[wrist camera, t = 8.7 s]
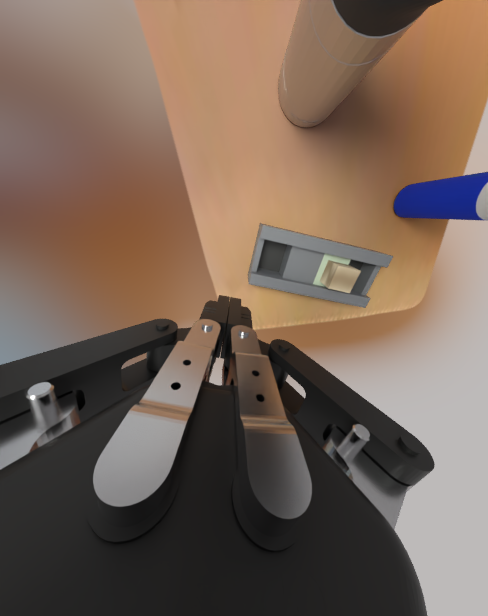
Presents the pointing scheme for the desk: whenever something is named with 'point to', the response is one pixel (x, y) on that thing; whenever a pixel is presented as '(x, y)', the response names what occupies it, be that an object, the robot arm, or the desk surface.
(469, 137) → the desk surface
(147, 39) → the desk surface
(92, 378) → the robot arm
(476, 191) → the blue cylinder
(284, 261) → the box
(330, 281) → the birch block
